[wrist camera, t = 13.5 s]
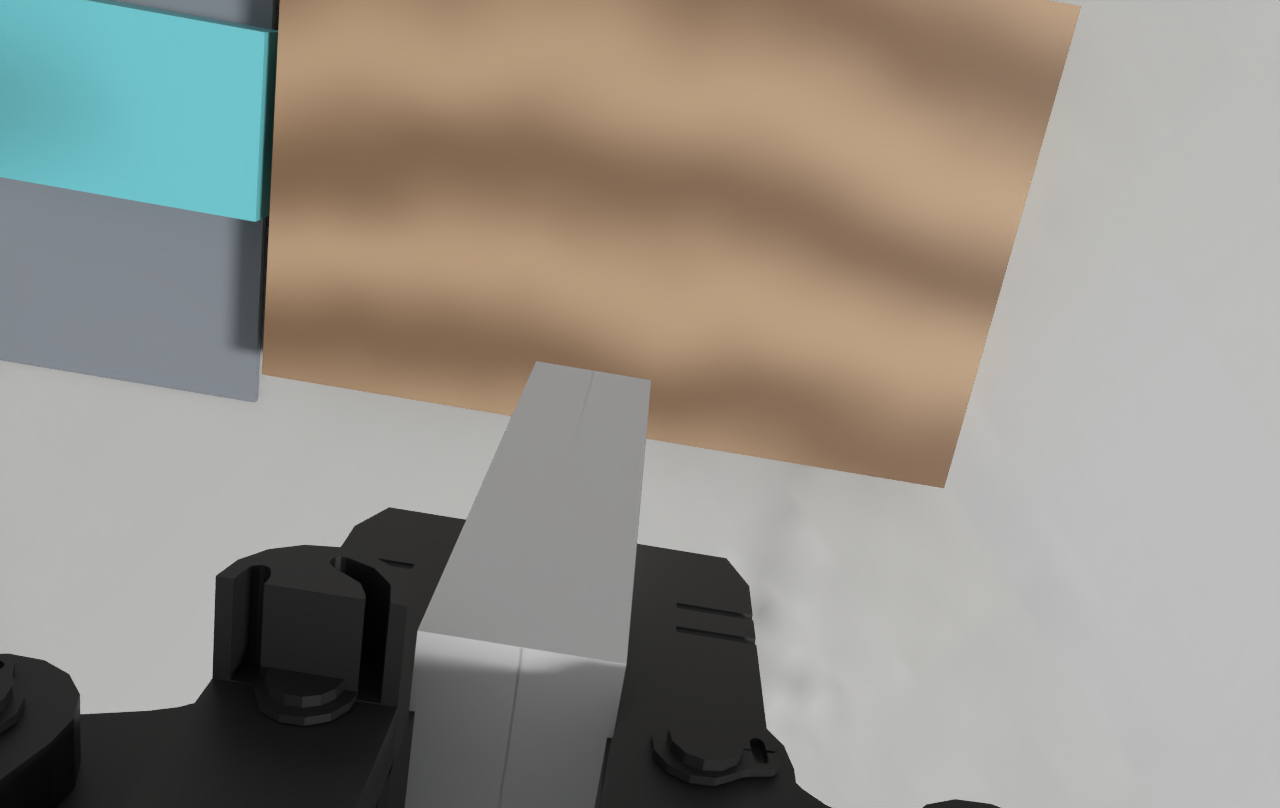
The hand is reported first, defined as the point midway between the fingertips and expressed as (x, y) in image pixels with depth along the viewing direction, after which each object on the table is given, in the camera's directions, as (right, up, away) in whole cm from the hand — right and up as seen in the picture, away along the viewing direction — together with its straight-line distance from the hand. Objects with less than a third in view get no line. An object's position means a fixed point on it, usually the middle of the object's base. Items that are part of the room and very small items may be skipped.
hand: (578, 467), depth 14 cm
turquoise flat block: (-16, +11, +22) cm, 29 cm away
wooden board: (+1, +8, +23) cm, 24 cm away
